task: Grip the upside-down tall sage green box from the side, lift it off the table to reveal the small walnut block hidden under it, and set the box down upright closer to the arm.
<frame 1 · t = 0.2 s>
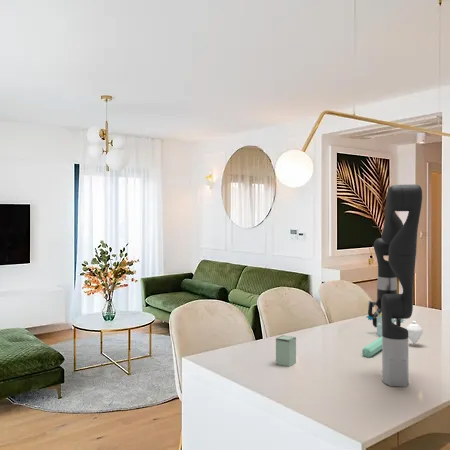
hand: (386, 327, 190), 18 cm above the kitchen island, tool pointing down, fingers open, 8 cm apart
character sculpture: (385, 335, 249), on the kitchen island
walnut block: (286, 359, 201), in the tall sage green box
tall sage green box: (286, 363, 201), on the kitchen island
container: (375, 352, 219), on the kitchen island
spinning top: (414, 346, 228), on the kitchen island
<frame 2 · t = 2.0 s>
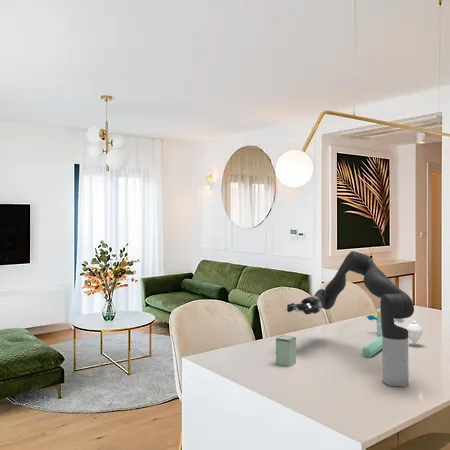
hand: (296, 310, 210), 21 cm above the kitchen island, tool horizontal, fingers open, 8 cm apart
nothing on the kitchen island moved.
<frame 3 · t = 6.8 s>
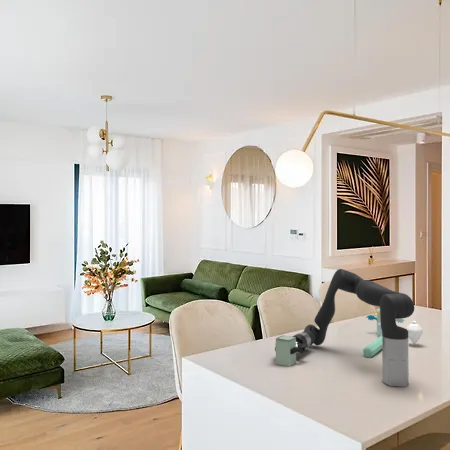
hand: (283, 350, 199), 6 cm above the kitchen island, tool horizontal, fingers closed on tall sage green box, 6 cm apart
tall sage green box: (286, 363, 201), on the kitchen island, touching gripper
everything else where it was.
when the fingers open (7 cm above the kitchen island, at t = 12.9 s): tall sage green box drops 1 cm, on the kitchen island.
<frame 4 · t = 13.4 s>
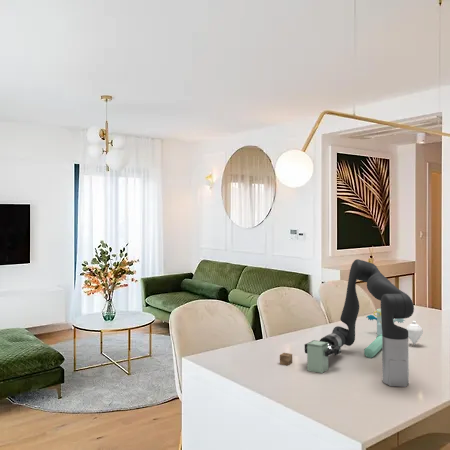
hand: (315, 352, 190), 8 cm above the kitchen island, tool horizontal, fingers open, 8 cm apart
tall sage green box: (317, 369, 192), on the kitchen island
everything else where it was.
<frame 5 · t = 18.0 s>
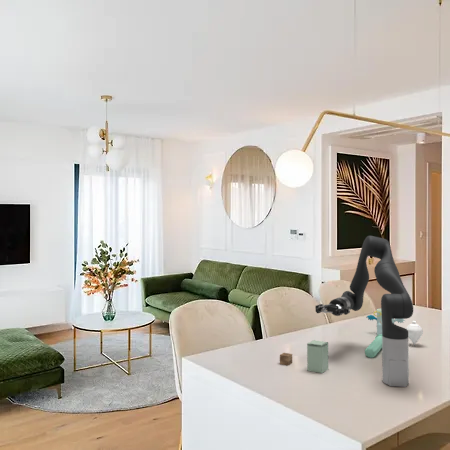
hand: (326, 311, 200), 22 cm above the kitchen island, tool horizontal, fingers open, 8 cm apart
nothing on the kitchen island moved.
at the end: tall sage green box moved 14.8 cm from its start; tall sage green box tilted 0°; the gripper is holding nothing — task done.
